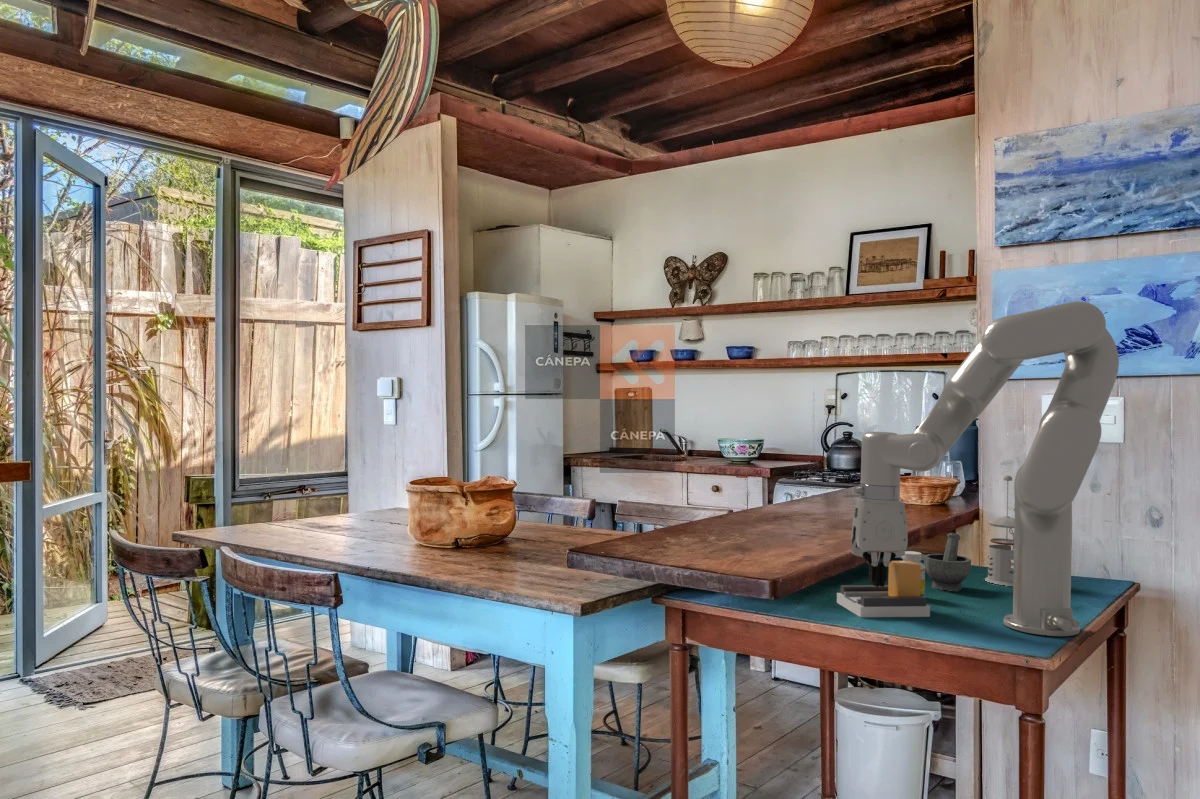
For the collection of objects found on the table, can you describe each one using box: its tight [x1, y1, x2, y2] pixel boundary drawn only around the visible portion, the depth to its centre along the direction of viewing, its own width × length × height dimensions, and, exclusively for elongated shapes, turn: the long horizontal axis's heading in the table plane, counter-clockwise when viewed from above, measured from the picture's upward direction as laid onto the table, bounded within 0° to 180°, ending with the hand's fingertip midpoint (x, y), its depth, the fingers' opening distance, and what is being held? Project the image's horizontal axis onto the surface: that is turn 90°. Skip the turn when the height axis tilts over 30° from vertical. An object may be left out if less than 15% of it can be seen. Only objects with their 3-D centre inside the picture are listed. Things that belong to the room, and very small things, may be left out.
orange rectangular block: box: [887, 560, 921, 596], centre depth 172 cm, size 4×4×7 cm
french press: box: [984, 475, 1015, 587], centre depth 201 cm, size 10×12×25 cm
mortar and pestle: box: [923, 532, 972, 592], centre depth 193 cm, size 11×9×12 cm
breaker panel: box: [836, 584, 931, 618], centre depth 172 cm, size 12×14×4 cm
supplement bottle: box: [901, 550, 926, 598], centre depth 183 cm, size 5×5×10 cm
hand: (877, 584), depth 172 cm, fingers closed
